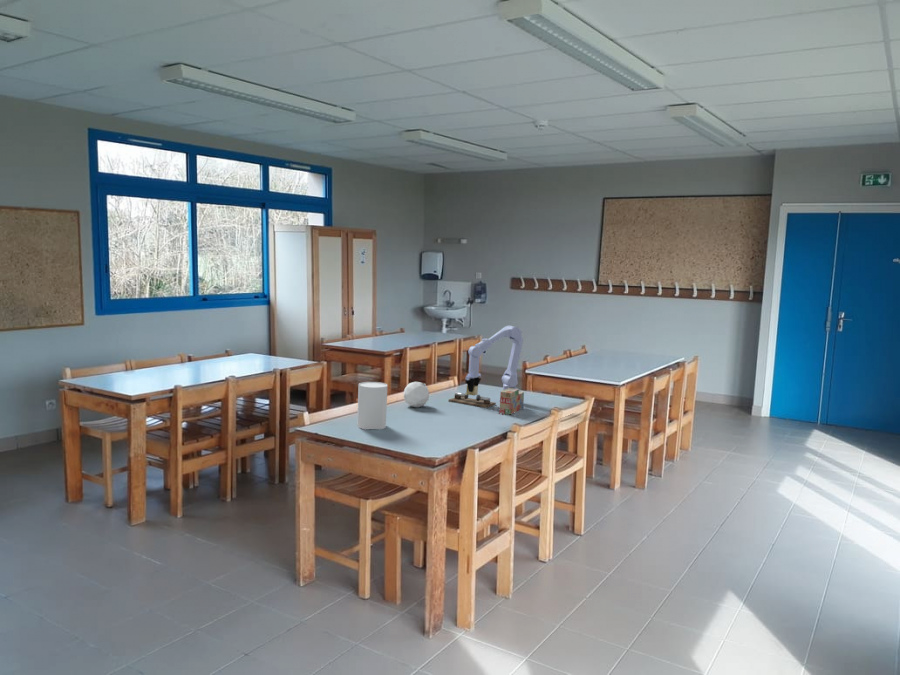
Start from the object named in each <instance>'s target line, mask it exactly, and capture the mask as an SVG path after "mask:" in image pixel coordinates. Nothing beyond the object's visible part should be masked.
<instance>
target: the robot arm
mask: <svg viewBox="0 0 900 675" xmlns="http://www.w3.org/2000/svg"><path fill="white" fill-rule="evenodd" d="M522 332H523V331H522V330H521V329H520V328H519V327H518V326H513V325H511V324H508V325H507V324H506V326H504V327H502V328H501V329H500V330H498V331H497V332H495V334H493V335H492V336H491V337H489V338H482V339H481V341H480V342H478V343H475V345H471V346H469V349H468V350H467V353H468V355H469V357H468V358H469V360H468V362H469V363H468V373H467V374H466V376H465V378H464V380H465V382H466V384H467V385H468V390H469V392H473V387H474V385H476V386H478V387H479V384H480V382H481V380H482V373H479V372H480V357H481V356H482V354H483V353H484V352H485V351H488V350H489V349H490V348H492V344H494V343H496V342H497V341H499V340H501V339H503V338H509V339H510V341H511V342H512V345H511V350H510V354H509V355H510V356H509V358H508V364H507V368H506V369H505V371H504V373H503V375H502V376H501V382H502V391H503V390H505V389H507V388H514V389H519V391H520V388H518V387H517V385H518V383H519V380H518V372H517V370H518V366H519V360H520V356H521V352H522V347H523V344H524V343H523V342H524V340H523V335H522ZM467 385H466V386H467Z"/></svg>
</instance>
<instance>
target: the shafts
mask: <svg viewBox="0 0 900 675" xmlns="http://www.w3.org/2000/svg"><path fill="white" fill-rule="evenodd" d="M455 395H458V396H460V397H465V399H468V398H469V396H470V395H468V394H466V392H465V393H463V392H457V391H456V392H454V396H455ZM475 399H476V400H477V401H479V400H483V401H484V400H486V401H489V402H491V398H490V397H485V396H481V395H480V394H477V395H476V398H475Z"/></svg>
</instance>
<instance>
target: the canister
mask: <svg viewBox="0 0 900 675" xmlns="http://www.w3.org/2000/svg"><path fill="white" fill-rule="evenodd" d="M357 388H358V390H357V394H358V395H357V415H356V416H357V419H356V420H357V421H356V422H357V423H356V427H357V428H358V427H359V428H358V429H361V428H362V430H366V429H379V430H383V429H385V428H386V427H387V406H388V405H387V403H388V384H387V383H385V382H379V381H364V382H363V381H362V382H359V383H358V386H357Z"/></svg>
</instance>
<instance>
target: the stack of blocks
mask: <svg viewBox="0 0 900 675" xmlns="http://www.w3.org/2000/svg"><path fill="white" fill-rule="evenodd" d="M519 390H520V388H519V389H514V388H507V389H505V390H503V389H502V390H501V391H500V395H499V396H500V399H499V411H498V412H499V413H502V414H501V415H506V414H511V415H513V414H515V413H516V411H517V412H519V411H520V410H522V409H524V403H525V400H524V399H525V398H524V397H525V396H524V395H525V391H519ZM521 408H522V409H521ZM514 412H515V413H514ZM499 413H498V414H499ZM512 413H513V414H512Z"/></svg>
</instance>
